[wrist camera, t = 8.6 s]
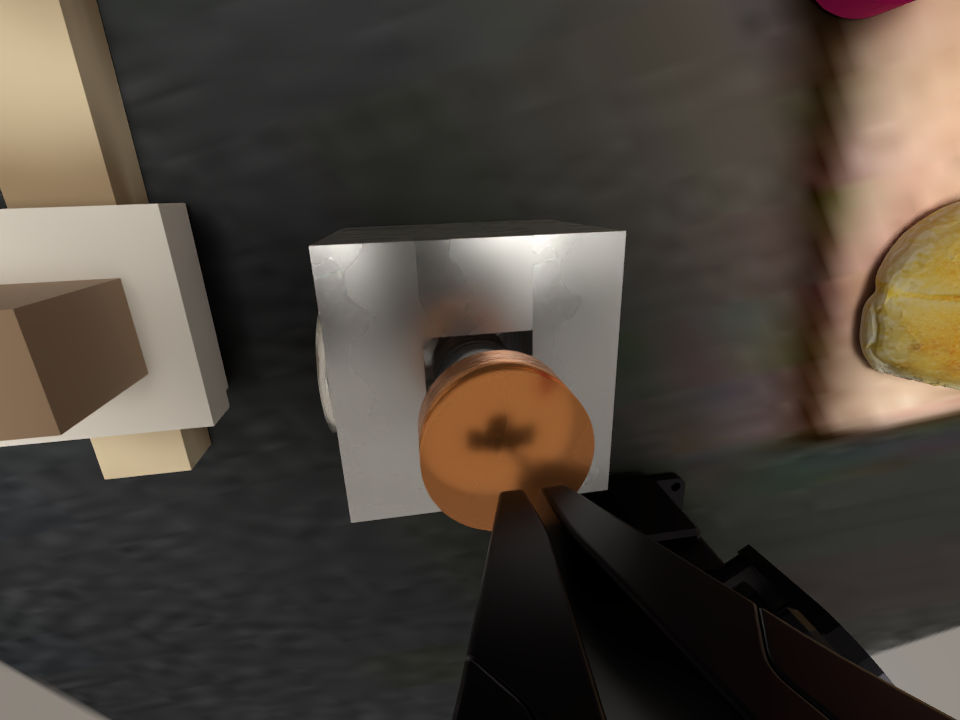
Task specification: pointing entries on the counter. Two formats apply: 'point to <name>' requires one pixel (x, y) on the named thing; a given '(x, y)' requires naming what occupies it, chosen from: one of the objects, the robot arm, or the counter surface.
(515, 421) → the plunger
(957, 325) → the bread roll
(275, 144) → the counter surface
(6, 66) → the rail
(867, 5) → the pepper mill
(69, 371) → the carriage
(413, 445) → the cabinet
